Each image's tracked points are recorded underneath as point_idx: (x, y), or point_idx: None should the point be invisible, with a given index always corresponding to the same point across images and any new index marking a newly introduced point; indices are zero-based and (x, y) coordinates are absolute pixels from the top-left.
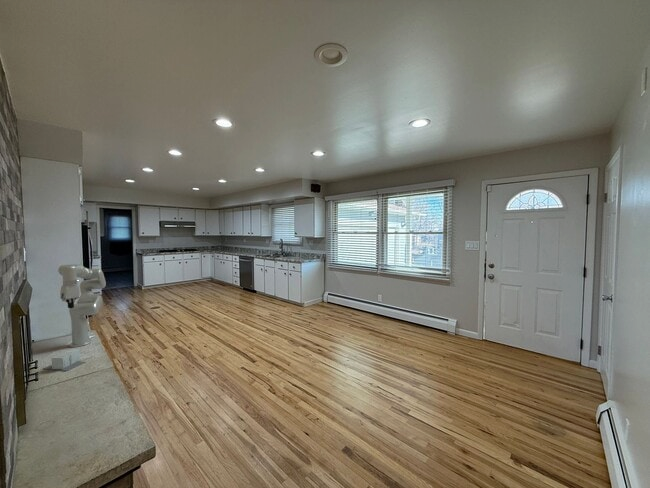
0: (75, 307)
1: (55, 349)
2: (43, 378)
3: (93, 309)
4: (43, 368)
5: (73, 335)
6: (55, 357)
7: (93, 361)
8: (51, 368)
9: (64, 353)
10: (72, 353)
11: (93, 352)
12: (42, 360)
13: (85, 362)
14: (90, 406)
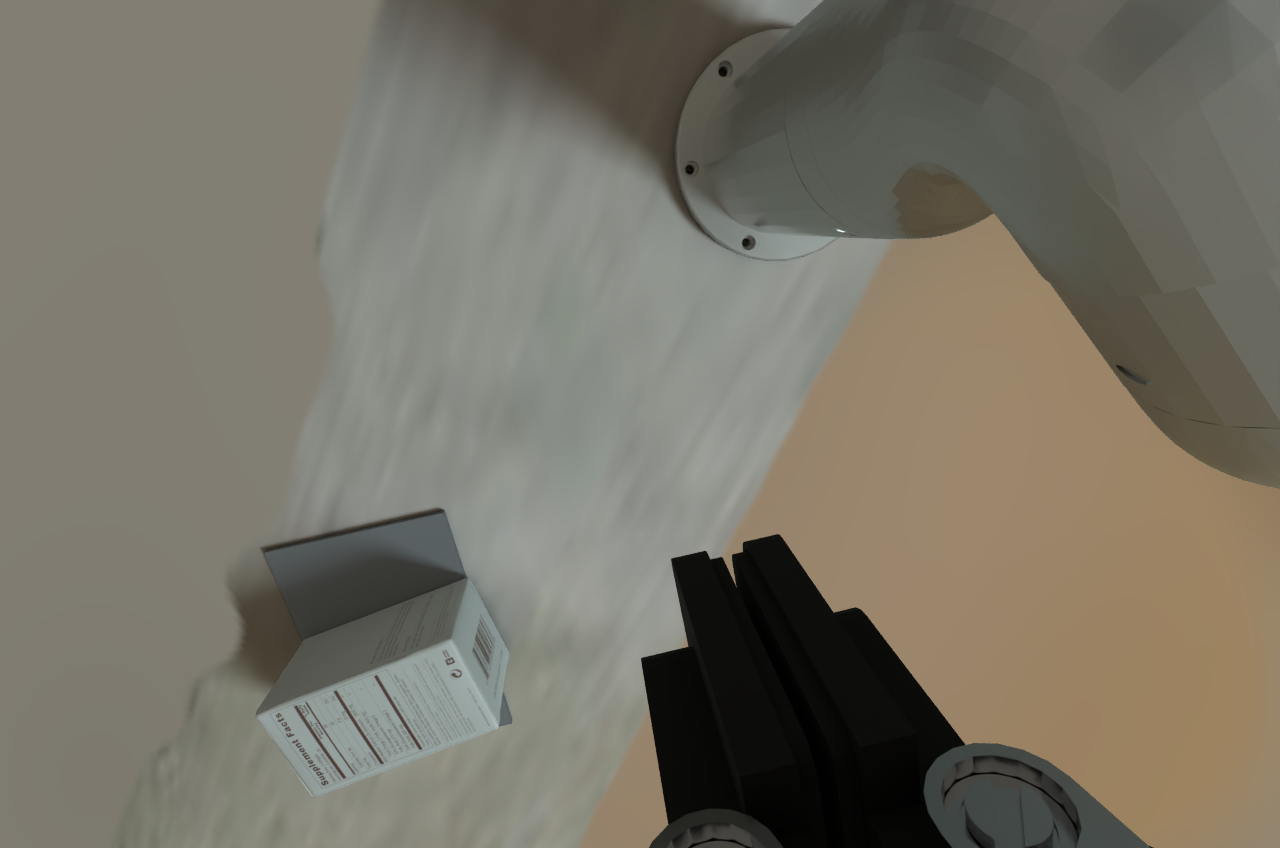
0: (1154, 67)
1: (561, 34)
2: (210, 741)
3: (1244, 479)
4: (266, 558)
5: (736, 148)
6: (278, 738)
7: (550, 747)
8: (306, 618)
9: (372, 701)
10: (415, 759)
11: (668, 555)
12: (340, 302)
13: (508, 721)
14: None
